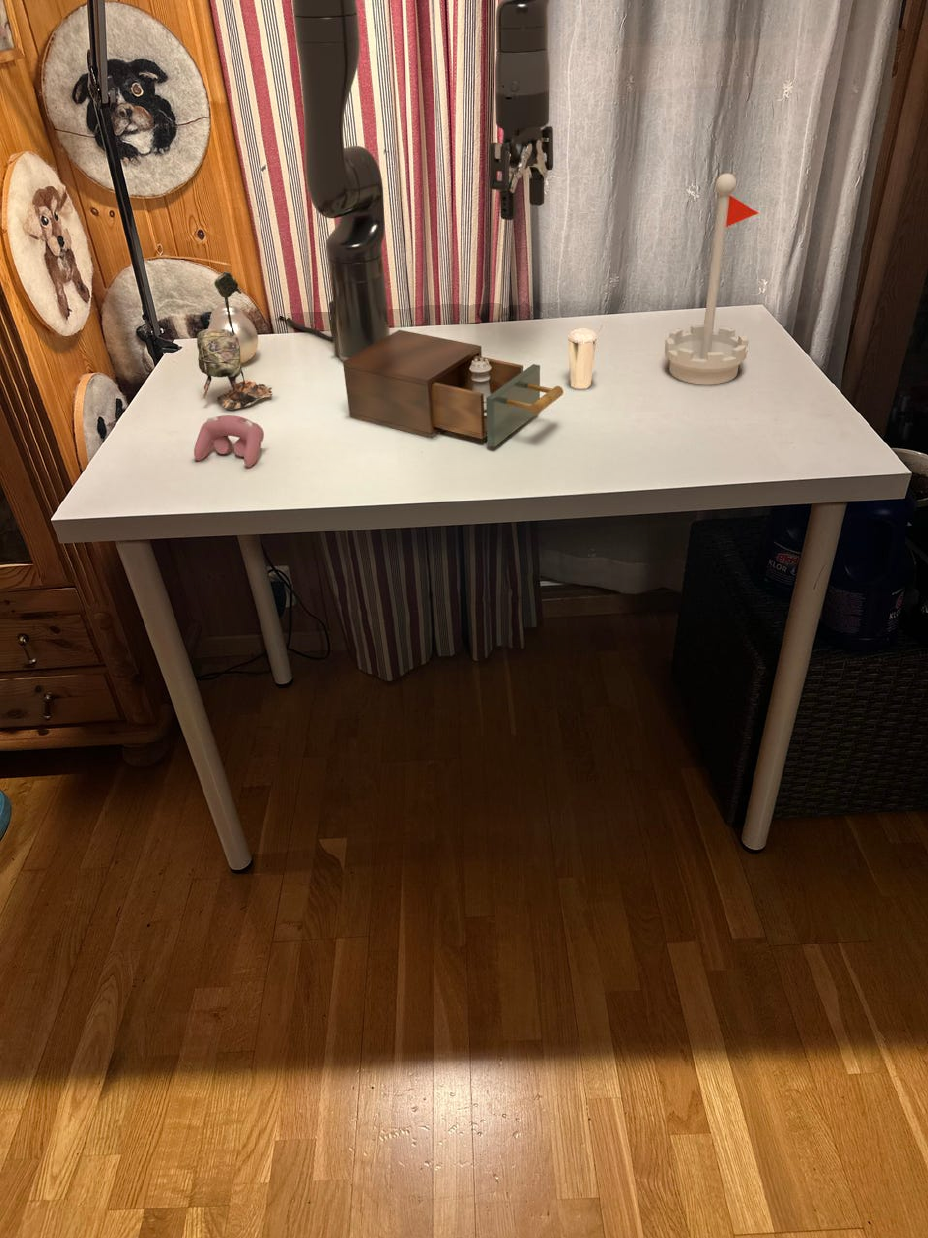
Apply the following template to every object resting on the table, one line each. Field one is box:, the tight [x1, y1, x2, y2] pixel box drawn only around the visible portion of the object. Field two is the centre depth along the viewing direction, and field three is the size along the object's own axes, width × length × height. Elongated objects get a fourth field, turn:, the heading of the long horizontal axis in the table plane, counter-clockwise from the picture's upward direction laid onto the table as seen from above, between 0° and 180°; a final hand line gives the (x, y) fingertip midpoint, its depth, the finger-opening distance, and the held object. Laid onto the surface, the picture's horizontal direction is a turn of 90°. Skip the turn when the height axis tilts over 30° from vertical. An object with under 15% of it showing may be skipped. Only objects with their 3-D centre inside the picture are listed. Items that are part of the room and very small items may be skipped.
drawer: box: [431, 355, 564, 448], centre depth 137 cm, size 20×13×7 cm, turn 57°
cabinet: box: [342, 329, 483, 439], centre depth 143 cm, size 16×15×9 cm
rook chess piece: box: [469, 358, 492, 418], centre depth 137 cm, size 4×4×8 cm
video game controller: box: [193, 414, 265, 468], centre depth 134 cm, size 10×5×7 cm, turn 71°
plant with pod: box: [194, 270, 273, 411], centre depth 145 cm, size 8×11×20 cm
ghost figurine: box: [207, 303, 259, 365], centre depth 161 cm, size 9×10×10 cm
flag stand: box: [664, 173, 759, 386], centre depth 143 cm, size 13×13×30 cm
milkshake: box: [567, 324, 604, 390], centre depth 147 cm, size 4×5×10 cm
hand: (522, 211), depth 137 cm, fingers open, 8 cm apart
